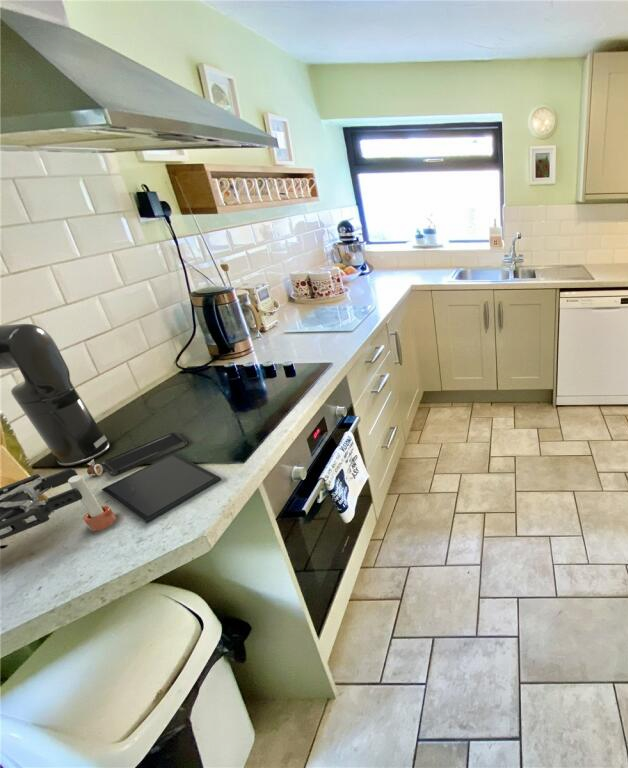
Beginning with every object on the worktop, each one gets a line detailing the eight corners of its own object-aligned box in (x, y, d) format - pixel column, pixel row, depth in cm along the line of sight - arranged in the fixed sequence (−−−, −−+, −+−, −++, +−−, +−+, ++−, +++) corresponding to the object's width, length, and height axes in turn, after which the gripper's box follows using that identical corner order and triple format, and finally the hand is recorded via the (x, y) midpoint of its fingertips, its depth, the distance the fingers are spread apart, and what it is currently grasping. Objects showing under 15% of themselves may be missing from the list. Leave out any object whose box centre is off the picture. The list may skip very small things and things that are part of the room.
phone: (100, 462, 97) (174, 431, 107) (102, 466, 97) (176, 434, 108) (110, 474, 93) (187, 440, 103) (113, 478, 93) (188, 444, 104)
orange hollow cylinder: (87, 527, 80) (79, 516, 79) (111, 514, 83) (104, 503, 81) (95, 535, 78) (87, 523, 77) (120, 521, 81) (112, 509, 80)
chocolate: (96, 471, 96) (87, 457, 94) (107, 470, 96) (98, 456, 94) (87, 480, 93) (78, 466, 91) (99, 478, 94) (90, 464, 92)
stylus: (94, 524, 80) (65, 479, 74) (106, 518, 81) (78, 473, 75) (99, 528, 79) (70, 483, 73) (111, 522, 81) (83, 477, 74)
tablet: (103, 492, 89) (100, 488, 89) (175, 456, 100) (174, 452, 99) (147, 524, 80) (144, 520, 79) (222, 480, 91) (220, 477, 90)
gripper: (-84, 542, 60) (70, 483, 70) (-71, 497, 68) (64, 450, 79) (-48, 577, 63) (93, 516, 73) (-41, 530, 72) (85, 481, 82)
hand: (78, 482), depth 76 cm, fingers open, 8 cm apart
